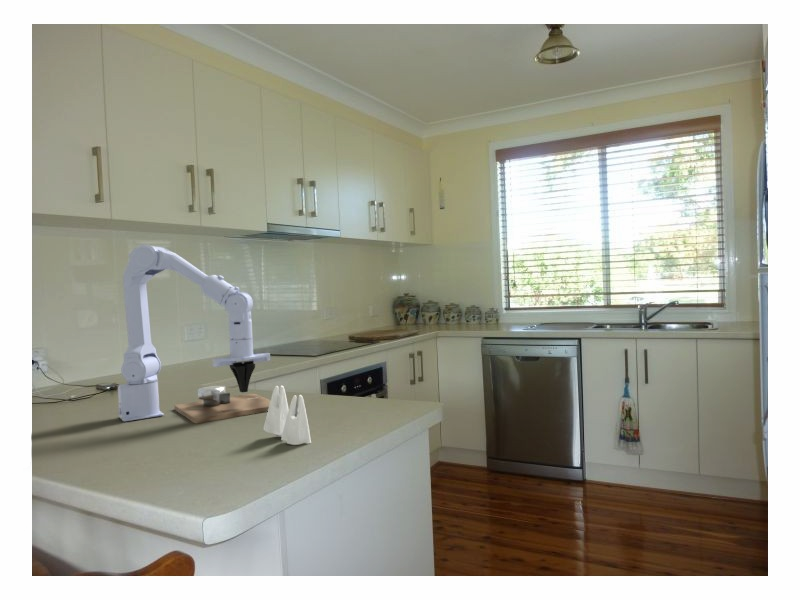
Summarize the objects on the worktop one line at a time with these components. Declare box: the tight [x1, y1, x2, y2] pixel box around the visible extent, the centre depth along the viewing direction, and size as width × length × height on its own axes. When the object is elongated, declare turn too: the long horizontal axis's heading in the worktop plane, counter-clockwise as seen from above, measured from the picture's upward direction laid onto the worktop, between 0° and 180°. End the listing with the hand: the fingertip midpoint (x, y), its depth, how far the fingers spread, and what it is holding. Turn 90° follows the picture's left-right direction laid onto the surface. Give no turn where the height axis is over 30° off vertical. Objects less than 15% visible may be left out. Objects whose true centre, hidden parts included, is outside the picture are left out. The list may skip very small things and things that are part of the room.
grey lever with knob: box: [197, 385, 231, 404], centre depth 146 cm, size 16×7×2 cm, turn 34°
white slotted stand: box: [263, 385, 312, 446], centre depth 115 cm, size 12×4×11 cm, turn 45°
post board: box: [173, 392, 271, 425], centre depth 149 cm, size 22×22×3 cm
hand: (243, 391), depth 145 cm, fingers closed
